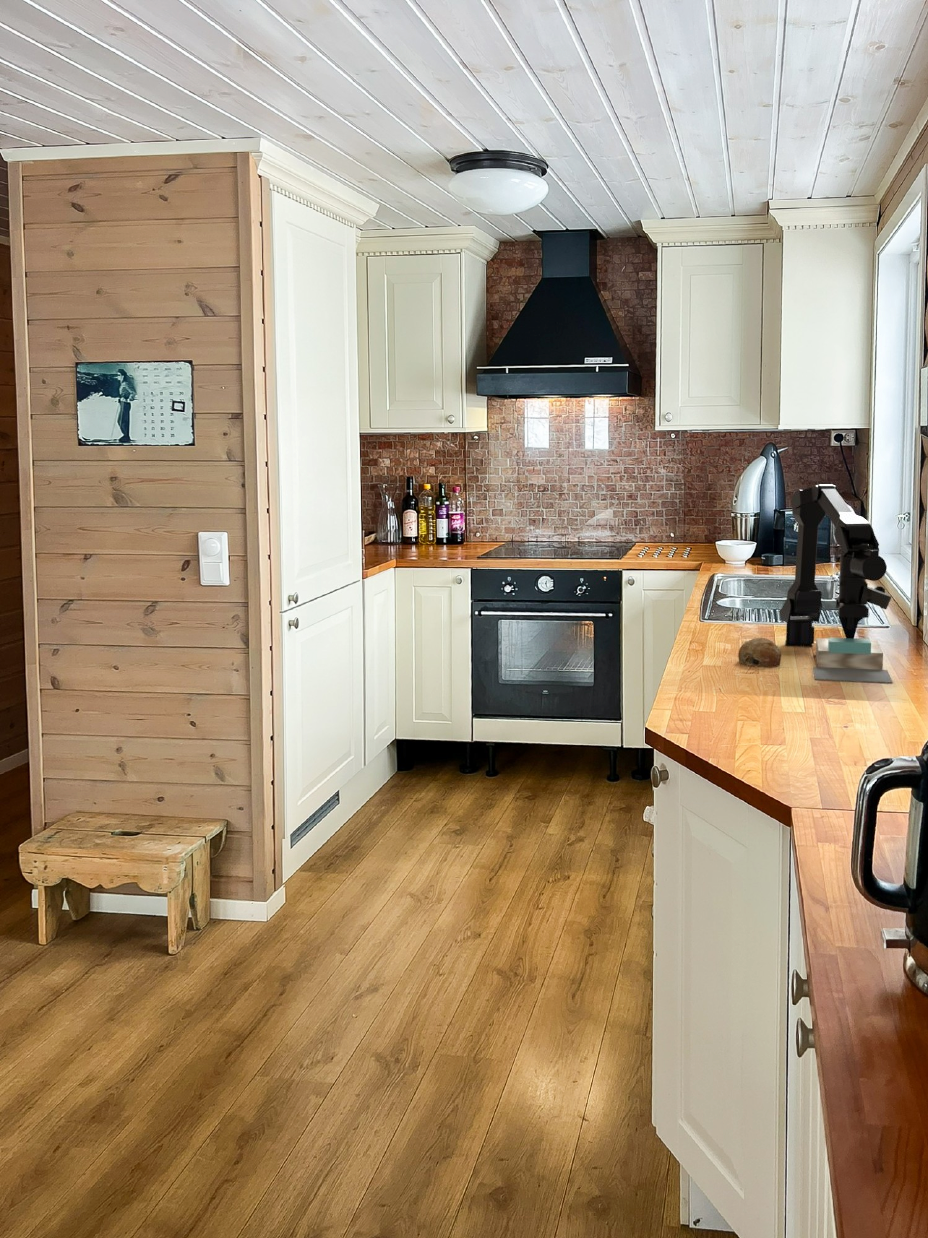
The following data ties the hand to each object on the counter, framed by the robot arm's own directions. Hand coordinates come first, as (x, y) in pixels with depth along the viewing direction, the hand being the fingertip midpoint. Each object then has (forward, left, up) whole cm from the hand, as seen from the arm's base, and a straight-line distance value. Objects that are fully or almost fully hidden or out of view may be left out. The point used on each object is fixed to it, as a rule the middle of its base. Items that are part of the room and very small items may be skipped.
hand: (850, 643), depth 268 cm
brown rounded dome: (-20, -2, -6) cm, 21 cm away
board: (0, +4, -5) cm, 6 cm away
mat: (0, -13, -5) cm, 14 cm away
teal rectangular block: (0, -4, -1) cm, 4 cm away
